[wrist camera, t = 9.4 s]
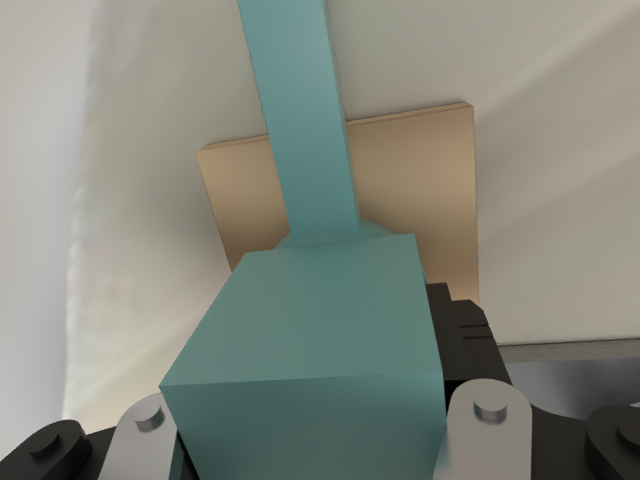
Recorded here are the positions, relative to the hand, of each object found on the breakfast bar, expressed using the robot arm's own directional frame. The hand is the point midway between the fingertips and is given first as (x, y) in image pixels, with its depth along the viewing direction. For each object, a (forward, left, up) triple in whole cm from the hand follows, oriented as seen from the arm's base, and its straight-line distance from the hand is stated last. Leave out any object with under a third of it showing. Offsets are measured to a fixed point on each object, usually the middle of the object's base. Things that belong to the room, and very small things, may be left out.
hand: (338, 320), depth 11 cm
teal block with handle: (-4, 0, -2) cm, 4 cm away
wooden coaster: (0, 0, -5) cm, 5 cm away
